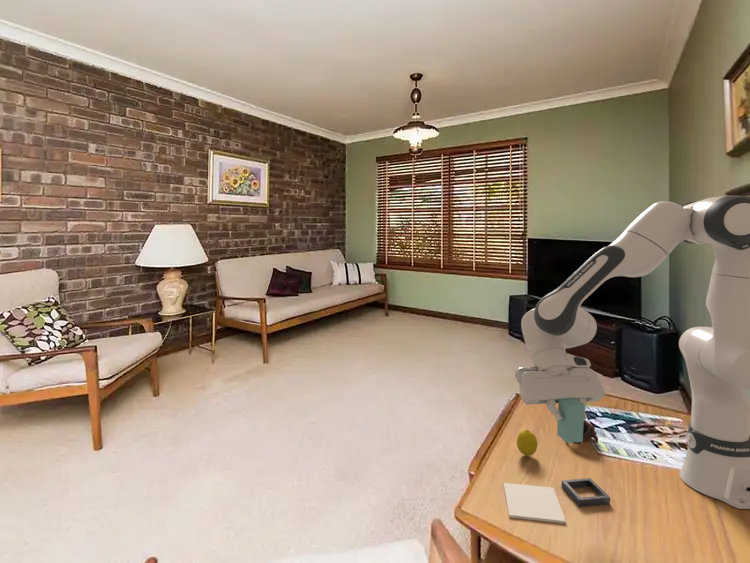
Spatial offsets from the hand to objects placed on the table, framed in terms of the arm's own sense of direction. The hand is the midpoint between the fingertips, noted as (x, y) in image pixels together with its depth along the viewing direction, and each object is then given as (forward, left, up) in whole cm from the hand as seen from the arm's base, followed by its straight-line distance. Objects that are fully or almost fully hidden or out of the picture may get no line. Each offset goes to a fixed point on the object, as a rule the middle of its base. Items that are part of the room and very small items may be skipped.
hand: (572, 419), depth 94 cm
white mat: (+9, +3, -20) cm, 22 cm away
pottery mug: (-10, -30, -20) cm, 38 cm away
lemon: (+7, -18, -20) cm, 28 cm away
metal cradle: (-4, -2, -20) cm, 21 cm away
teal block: (0, -1, -5) cm, 5 cm away
